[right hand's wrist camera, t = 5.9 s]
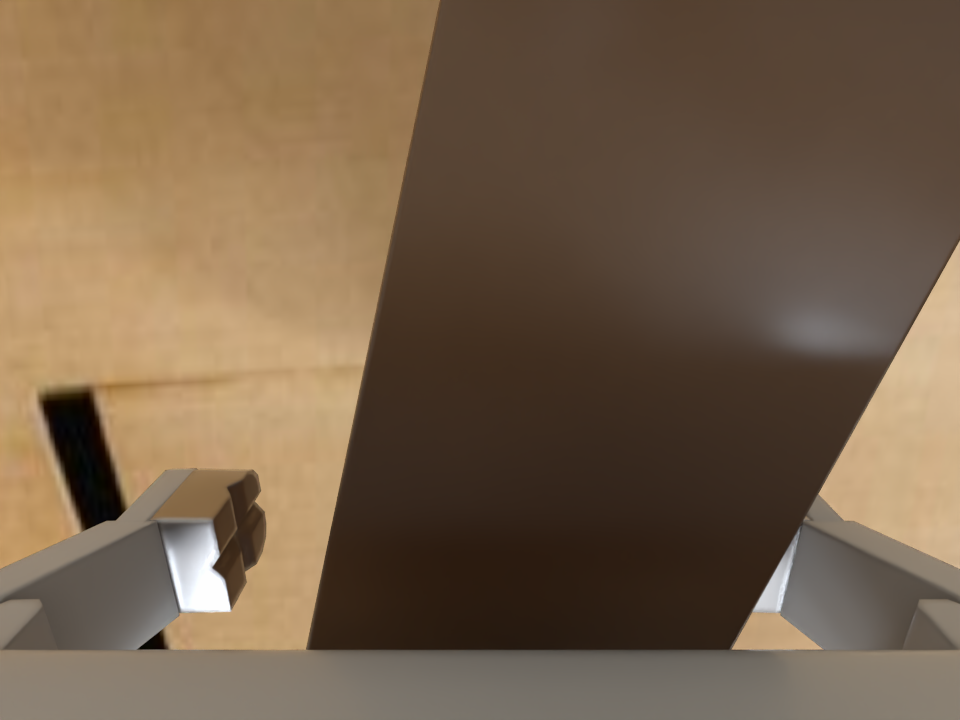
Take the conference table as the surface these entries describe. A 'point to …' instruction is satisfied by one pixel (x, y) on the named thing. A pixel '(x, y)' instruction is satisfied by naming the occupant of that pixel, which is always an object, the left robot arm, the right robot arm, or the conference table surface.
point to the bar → (634, 312)
